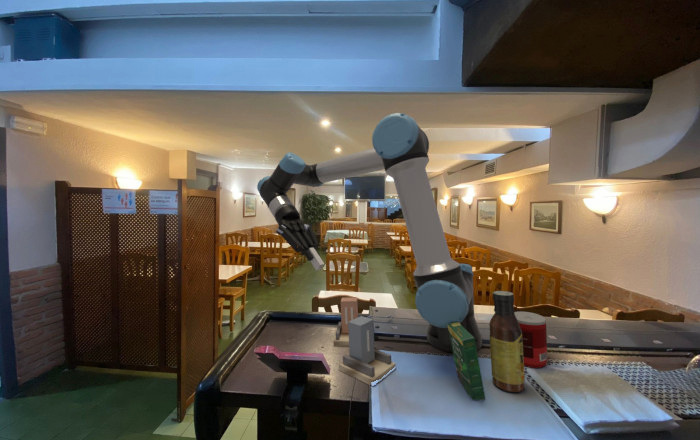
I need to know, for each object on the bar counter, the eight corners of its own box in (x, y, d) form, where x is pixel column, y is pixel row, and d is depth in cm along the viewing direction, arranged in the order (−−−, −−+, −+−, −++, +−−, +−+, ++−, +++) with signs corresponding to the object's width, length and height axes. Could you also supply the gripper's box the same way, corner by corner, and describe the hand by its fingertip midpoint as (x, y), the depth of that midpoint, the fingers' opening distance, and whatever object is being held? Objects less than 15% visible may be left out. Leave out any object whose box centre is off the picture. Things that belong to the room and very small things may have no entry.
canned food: (543, 355, 70) (542, 312, 70) (551, 371, 63) (549, 324, 63) (509, 350, 74) (508, 309, 74) (513, 365, 66) (511, 320, 66)
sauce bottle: (530, 395, 55) (526, 297, 55) (497, 392, 56) (493, 297, 56) (517, 376, 62) (514, 289, 62) (487, 374, 63) (484, 289, 63)
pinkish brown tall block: (343, 328, 89) (341, 297, 89) (358, 328, 88) (357, 297, 88) (341, 333, 84) (340, 301, 84) (357, 333, 84) (356, 301, 84)
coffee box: (455, 376, 63) (446, 322, 62) (468, 374, 63) (458, 320, 62) (472, 402, 54) (461, 340, 54) (486, 399, 55) (475, 338, 54)
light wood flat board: (362, 327, 93) (361, 317, 93) (404, 380, 62) (404, 364, 62) (323, 333, 89) (323, 323, 89) (348, 392, 59) (348, 376, 59)
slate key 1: (349, 362, 67) (348, 321, 67) (362, 354, 71) (361, 316, 71) (362, 367, 65) (361, 325, 65) (375, 359, 68) (373, 319, 68)
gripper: (296, 220, 97) (330, 271, 85) (262, 221, 87) (296, 279, 76) (305, 204, 93) (342, 255, 82) (271, 203, 83) (307, 262, 72)
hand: (320, 267), depth 79 cm, fingers closed
